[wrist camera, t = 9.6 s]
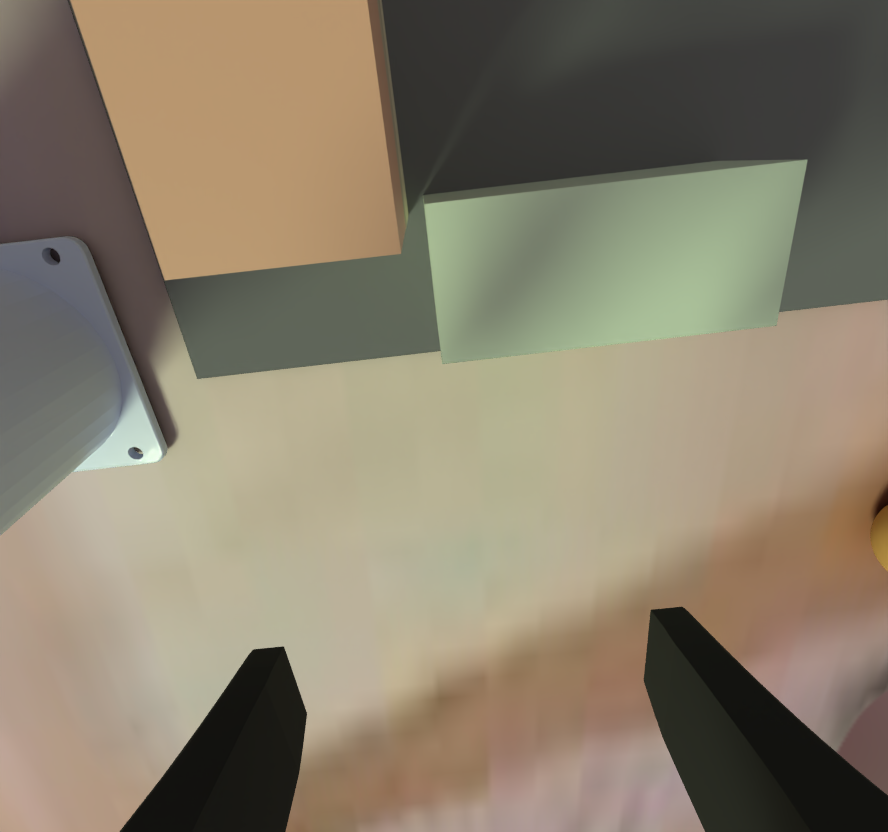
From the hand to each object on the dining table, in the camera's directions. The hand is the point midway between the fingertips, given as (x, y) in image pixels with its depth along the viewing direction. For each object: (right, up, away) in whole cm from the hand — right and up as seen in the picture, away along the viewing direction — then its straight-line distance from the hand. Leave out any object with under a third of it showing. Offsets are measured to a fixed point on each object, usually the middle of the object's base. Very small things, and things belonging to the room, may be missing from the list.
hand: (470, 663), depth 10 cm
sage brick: (+4, +10, +6) cm, 13 cm away
